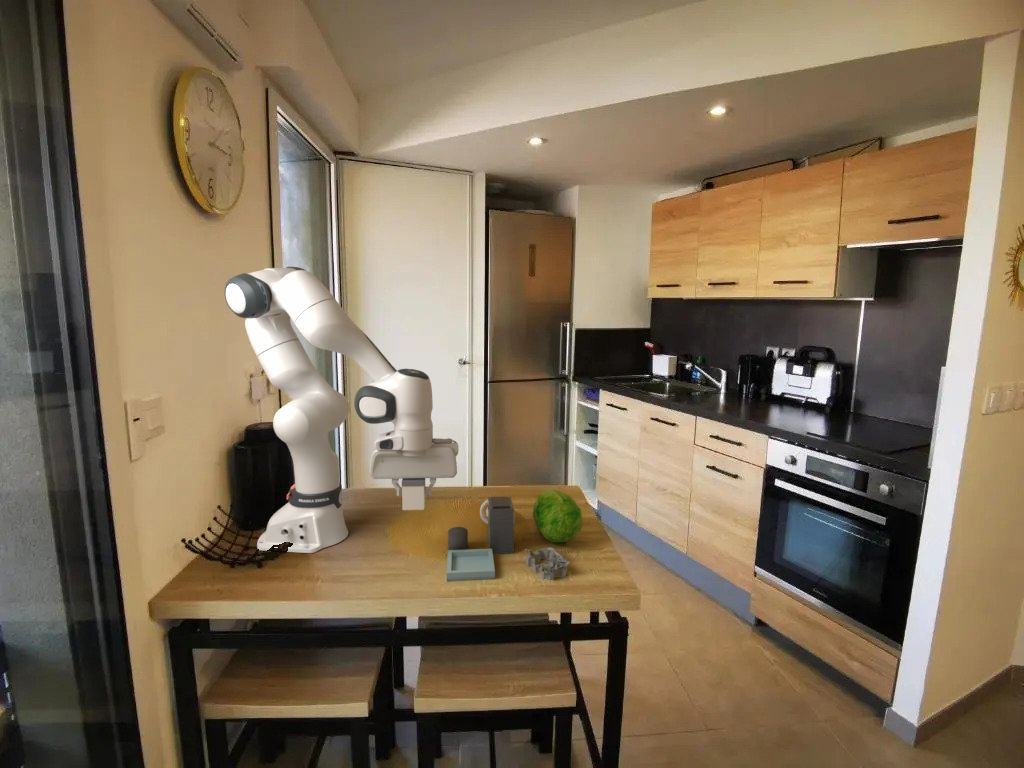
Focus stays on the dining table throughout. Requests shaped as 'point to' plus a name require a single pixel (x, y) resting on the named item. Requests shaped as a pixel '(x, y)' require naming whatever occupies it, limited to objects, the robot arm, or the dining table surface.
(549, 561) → the gray jagged ring
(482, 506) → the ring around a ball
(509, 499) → the block
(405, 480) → the cartridge
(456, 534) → the knob
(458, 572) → the tray
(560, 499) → the lettuce
